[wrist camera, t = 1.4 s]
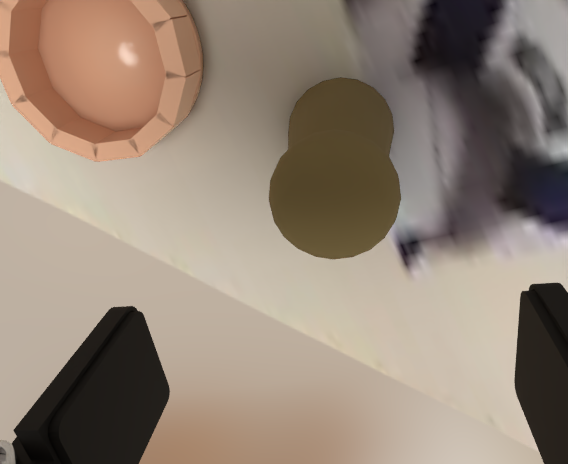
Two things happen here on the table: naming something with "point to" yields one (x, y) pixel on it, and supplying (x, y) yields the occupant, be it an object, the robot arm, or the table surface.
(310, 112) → the cork
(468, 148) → the table surface
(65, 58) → the copper faceted bowl
